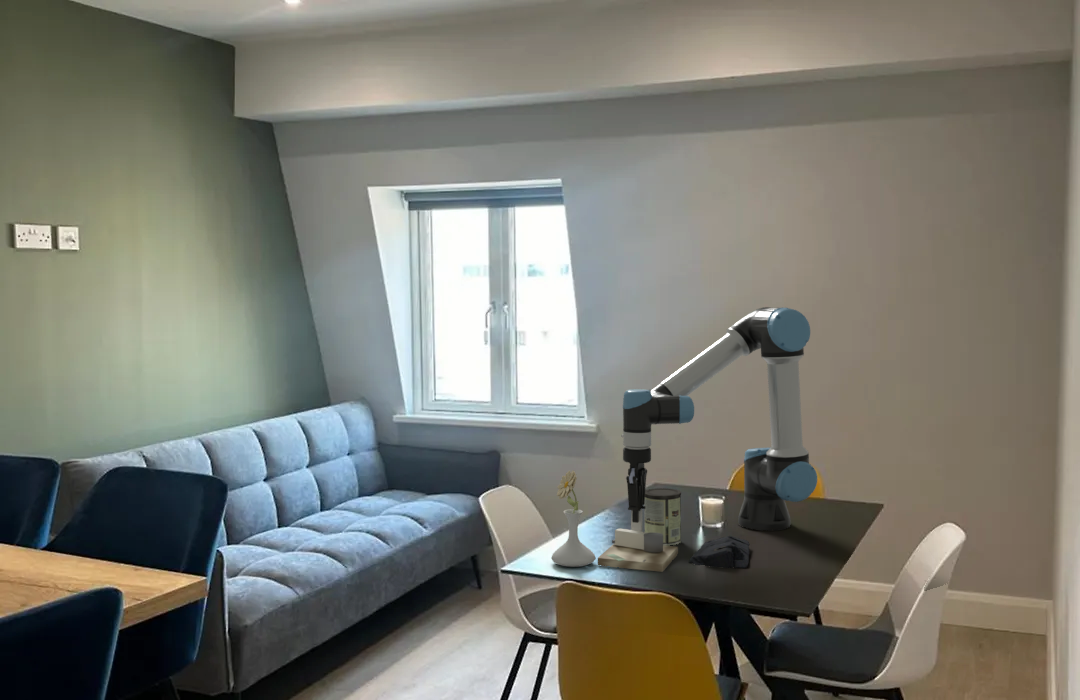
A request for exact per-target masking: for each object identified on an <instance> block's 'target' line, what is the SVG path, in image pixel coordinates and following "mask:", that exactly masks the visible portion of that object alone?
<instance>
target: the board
mask: <svg viewBox="0 0 1080 700" xmlns="http://www.w3.org/2000/svg"><path fill="white" fill-rule="evenodd" d="M677 554H678V555H679V546H675V545H673V546H663V551H662V552H656V553H652V552H646V551H644V550H642V549H636V548H630V547H624V546H618V545H615V544H613V543H612V545H611V546H609V547H608V548H607V549H606V550H605V551H604V552H603V553H601V555H599V556H598V557H597V566H598V565H601V566H600V567H607V566H610V568H617V567H619V568H620V569H629V570H631V569H632V570H640V571H641V570H642V571H650V572H651V571H652V572H653V571H654V572H661V573H663V572H664V571H665V570H666V568H667V567H668V566H669V565H670V564H671V563H672V562H673V561H674V559H676V557H677V556H678V555H677ZM672 560H673V561H672Z"/></svg>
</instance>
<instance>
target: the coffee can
mask: <svg viewBox="0 0 1080 700" xmlns="http://www.w3.org/2000/svg"><path fill="white" fill-rule="evenodd" d="M681 495H682V491H680V490H678V489H676V488H667V487H663V488H661V487H657V488H650V489H649V488H648V489H645V504H644V505H643V506H646V507H645V509H643V510H644V513H643V514H644V532H647V533H661V534H663V546H670V545H673V546H677V545H679V543H680V544H681V543H682V535H681V534H682V528H681V527H682V519H681V517H682V515H681V514H682V512H681V511H682V508H681V507H682V505H681V504H682V502H681V497H682V496H681ZM676 544H677V545H676Z"/></svg>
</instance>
